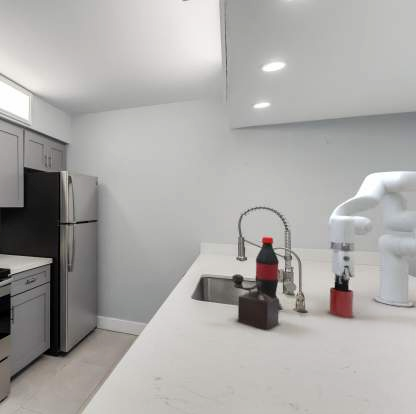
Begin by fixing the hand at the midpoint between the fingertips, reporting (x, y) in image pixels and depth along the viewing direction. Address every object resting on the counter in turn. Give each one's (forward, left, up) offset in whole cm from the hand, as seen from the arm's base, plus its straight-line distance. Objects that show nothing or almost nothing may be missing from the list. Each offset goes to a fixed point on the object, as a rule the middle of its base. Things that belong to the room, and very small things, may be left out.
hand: (341, 292), depth 126 cm
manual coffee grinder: (+41, -15, -9) cm, 45 cm away
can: (0, 0, -9) cm, 9 cm away
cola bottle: (+18, -21, -9) cm, 29 cm away
